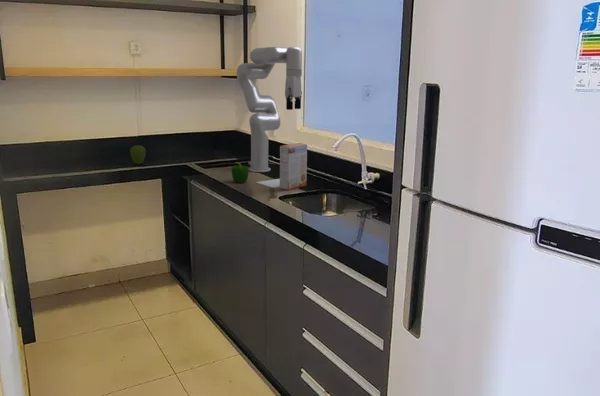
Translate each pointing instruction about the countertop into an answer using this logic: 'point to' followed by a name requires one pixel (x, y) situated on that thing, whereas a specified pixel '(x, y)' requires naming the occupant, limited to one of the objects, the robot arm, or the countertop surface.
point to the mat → (270, 183)
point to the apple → (138, 154)
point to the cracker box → (293, 166)
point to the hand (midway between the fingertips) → (293, 109)
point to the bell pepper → (240, 173)
